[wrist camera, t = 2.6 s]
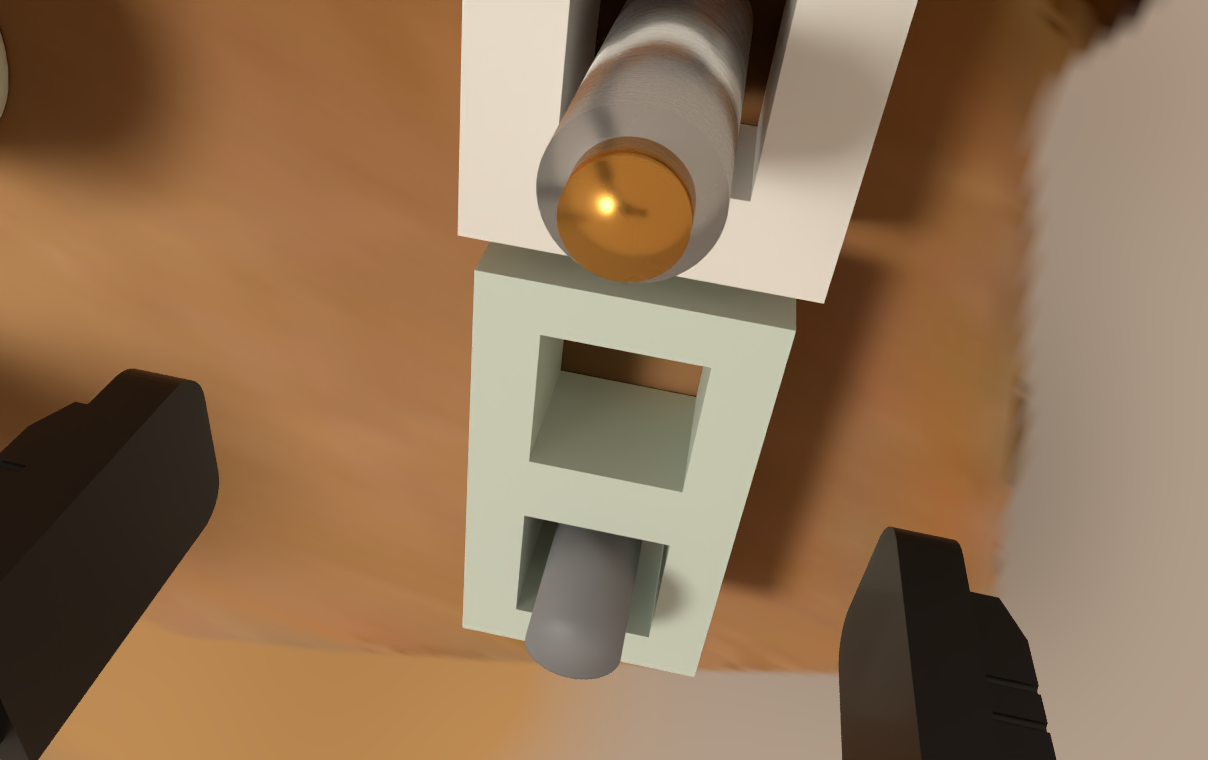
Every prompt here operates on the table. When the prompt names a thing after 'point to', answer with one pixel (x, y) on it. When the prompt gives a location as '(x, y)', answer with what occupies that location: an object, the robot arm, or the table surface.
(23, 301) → the table surface
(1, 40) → the can
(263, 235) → the table surface
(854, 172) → the socket block
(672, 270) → the silver battery cell
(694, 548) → the rack
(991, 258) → the table surface
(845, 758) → the robot arm
